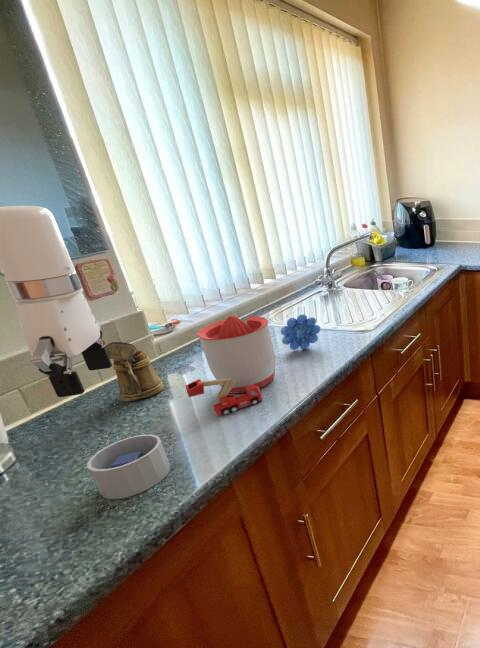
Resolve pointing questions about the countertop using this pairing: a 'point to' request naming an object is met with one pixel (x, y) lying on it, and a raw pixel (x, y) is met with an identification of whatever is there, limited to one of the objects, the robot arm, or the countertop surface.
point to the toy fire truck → (226, 395)
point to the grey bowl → (129, 467)
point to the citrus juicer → (239, 351)
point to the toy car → (126, 459)
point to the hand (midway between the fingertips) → (87, 380)
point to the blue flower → (300, 332)
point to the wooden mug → (133, 372)
